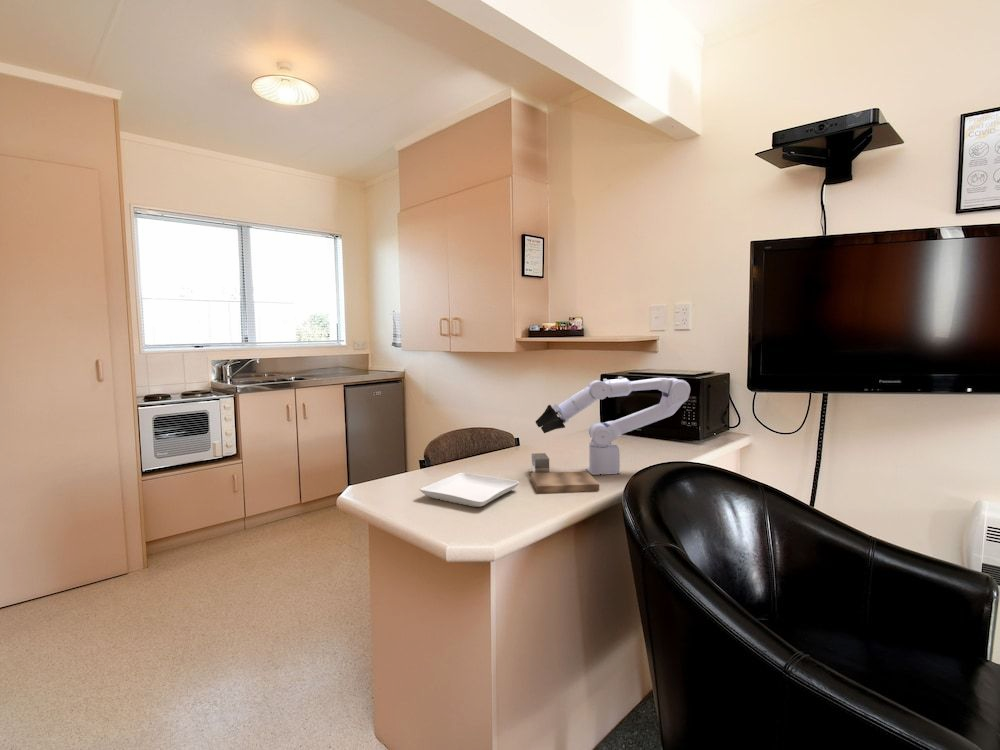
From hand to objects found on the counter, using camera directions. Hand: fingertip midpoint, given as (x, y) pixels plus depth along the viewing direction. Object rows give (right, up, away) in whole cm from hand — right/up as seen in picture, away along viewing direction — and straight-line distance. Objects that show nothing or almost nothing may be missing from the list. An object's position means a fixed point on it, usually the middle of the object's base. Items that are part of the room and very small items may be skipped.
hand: (539, 427), depth 163 cm
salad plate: (-21, -17, -22) cm, 35 cm away
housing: (0, -15, -1) cm, 15 cm away
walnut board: (+6, -16, -14) cm, 22 cm away
